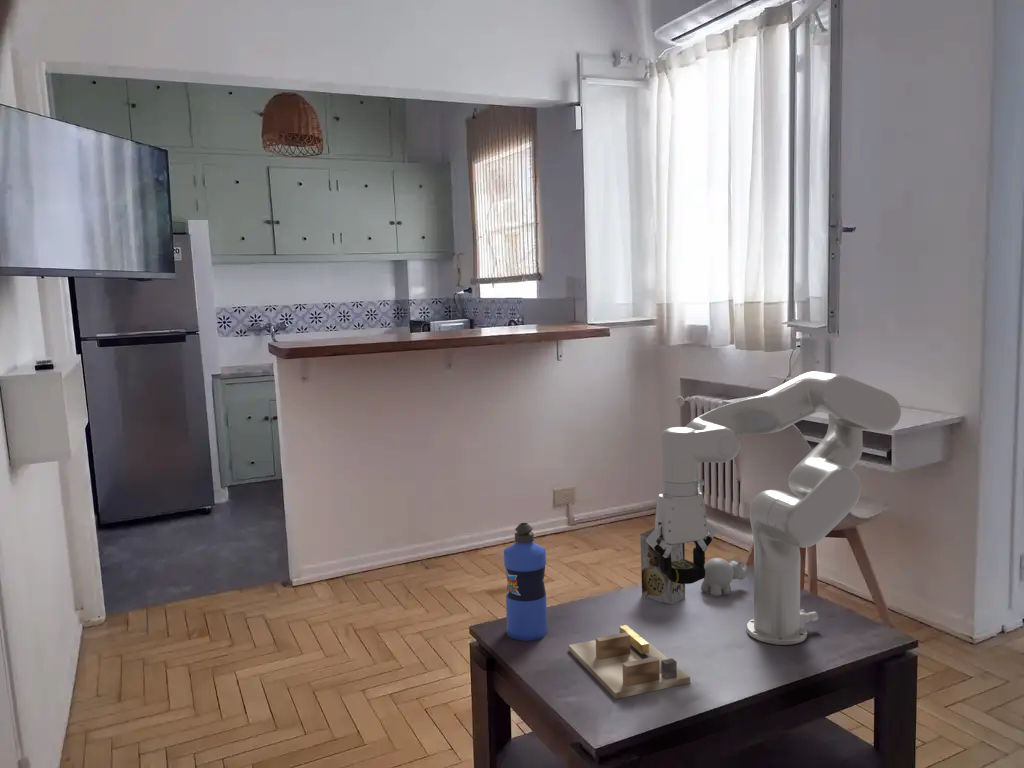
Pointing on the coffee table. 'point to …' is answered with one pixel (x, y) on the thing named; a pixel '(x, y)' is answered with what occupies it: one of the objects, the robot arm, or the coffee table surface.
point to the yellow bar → (636, 640)
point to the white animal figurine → (721, 575)
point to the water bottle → (525, 586)
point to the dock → (616, 670)
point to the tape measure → (686, 572)
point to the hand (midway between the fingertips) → (682, 570)
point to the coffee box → (659, 573)
